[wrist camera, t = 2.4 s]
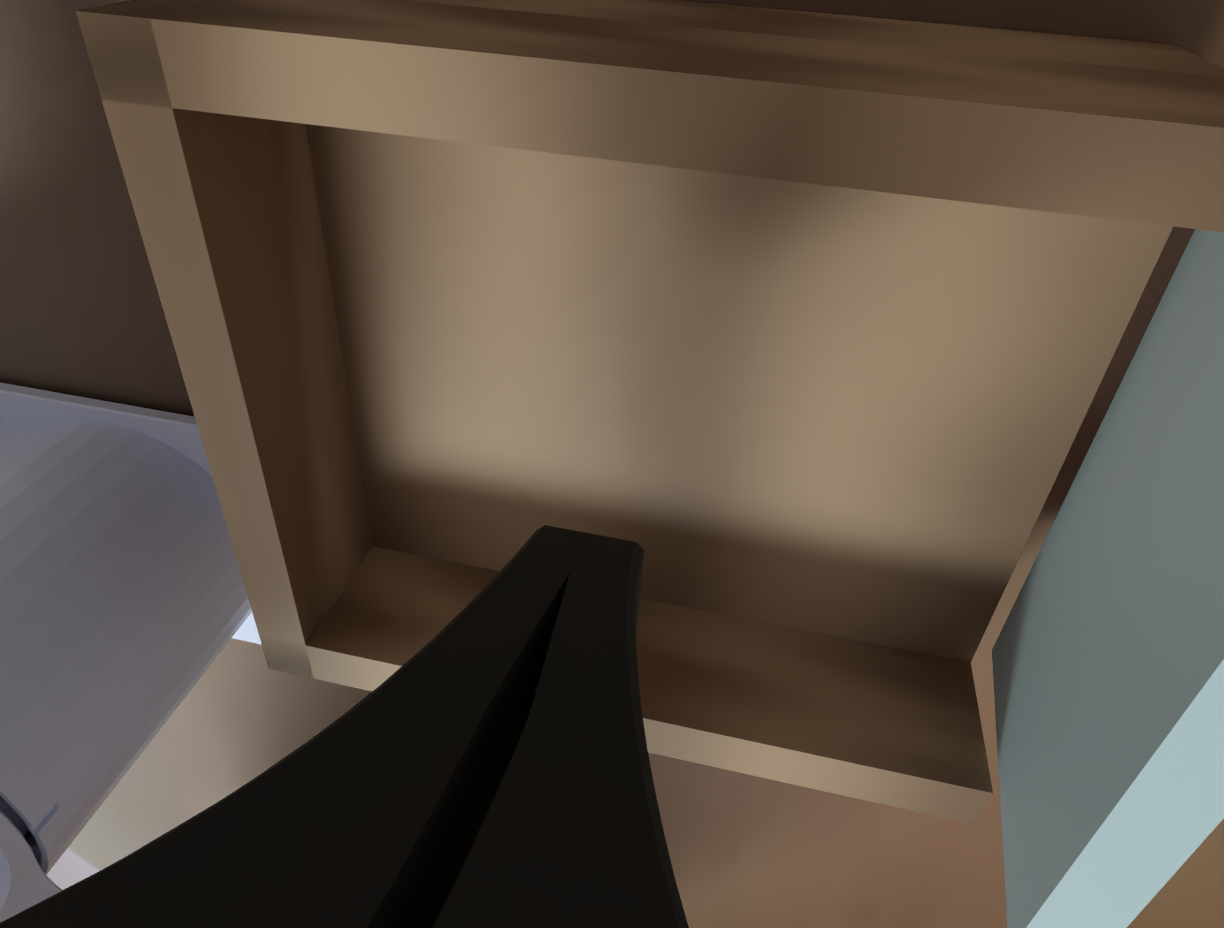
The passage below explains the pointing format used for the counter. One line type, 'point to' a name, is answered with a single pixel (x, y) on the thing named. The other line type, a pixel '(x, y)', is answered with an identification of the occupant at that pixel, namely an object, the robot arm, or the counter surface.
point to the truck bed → (654, 328)
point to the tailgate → (1124, 638)
